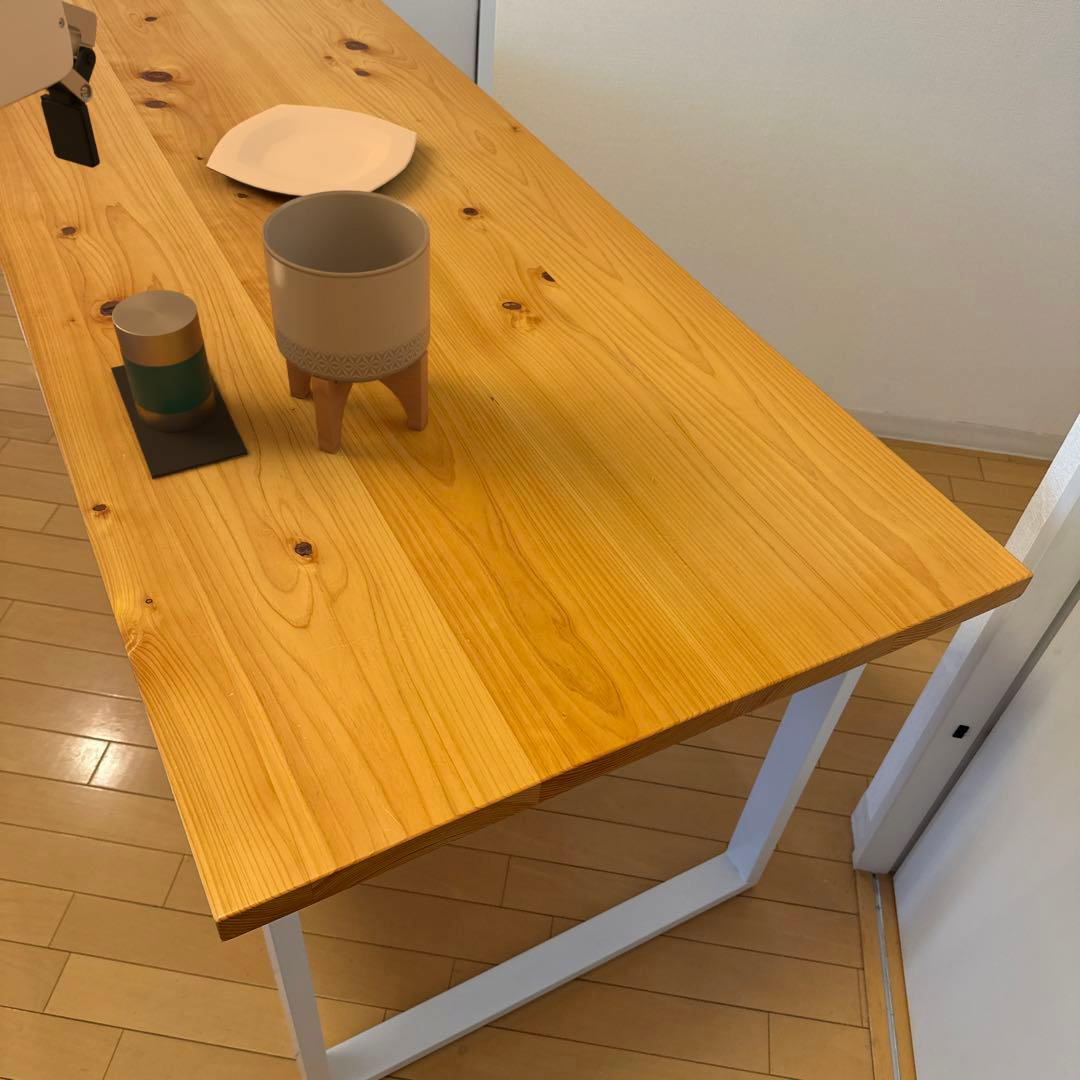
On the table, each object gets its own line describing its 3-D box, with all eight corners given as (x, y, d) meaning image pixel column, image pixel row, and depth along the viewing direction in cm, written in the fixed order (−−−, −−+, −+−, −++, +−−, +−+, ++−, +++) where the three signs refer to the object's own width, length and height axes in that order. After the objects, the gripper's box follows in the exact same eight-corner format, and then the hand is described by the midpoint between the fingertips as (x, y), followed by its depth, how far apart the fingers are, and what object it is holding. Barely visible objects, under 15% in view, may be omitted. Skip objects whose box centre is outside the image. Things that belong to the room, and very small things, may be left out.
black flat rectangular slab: (248, 454, 86) (247, 451, 86) (152, 479, 83) (151, 476, 83) (199, 351, 95) (198, 348, 95) (111, 370, 93) (110, 367, 92)
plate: (182, 185, 117) (179, 168, 116) (275, 109, 133) (273, 93, 131) (366, 227, 114) (365, 210, 112) (439, 143, 129) (439, 128, 128)
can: (121, 418, 88) (93, 320, 80) (169, 377, 92) (146, 281, 85) (185, 441, 86) (163, 344, 79) (231, 398, 91) (213, 303, 83)
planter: (326, 352, 97) (309, 177, 84) (451, 386, 95) (454, 210, 82) (259, 432, 88) (229, 250, 75) (395, 471, 86) (389, 290, 73)
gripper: (-2, -168, 58) (71, 128, 70) (-283, -110, 46) (-137, 234, 58) (106, -145, 56) (162, 154, 68) (-156, -79, 44) (-33, 268, 56)
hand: (24, 190), depth 63 cm, fingers open, 9 cm apart
